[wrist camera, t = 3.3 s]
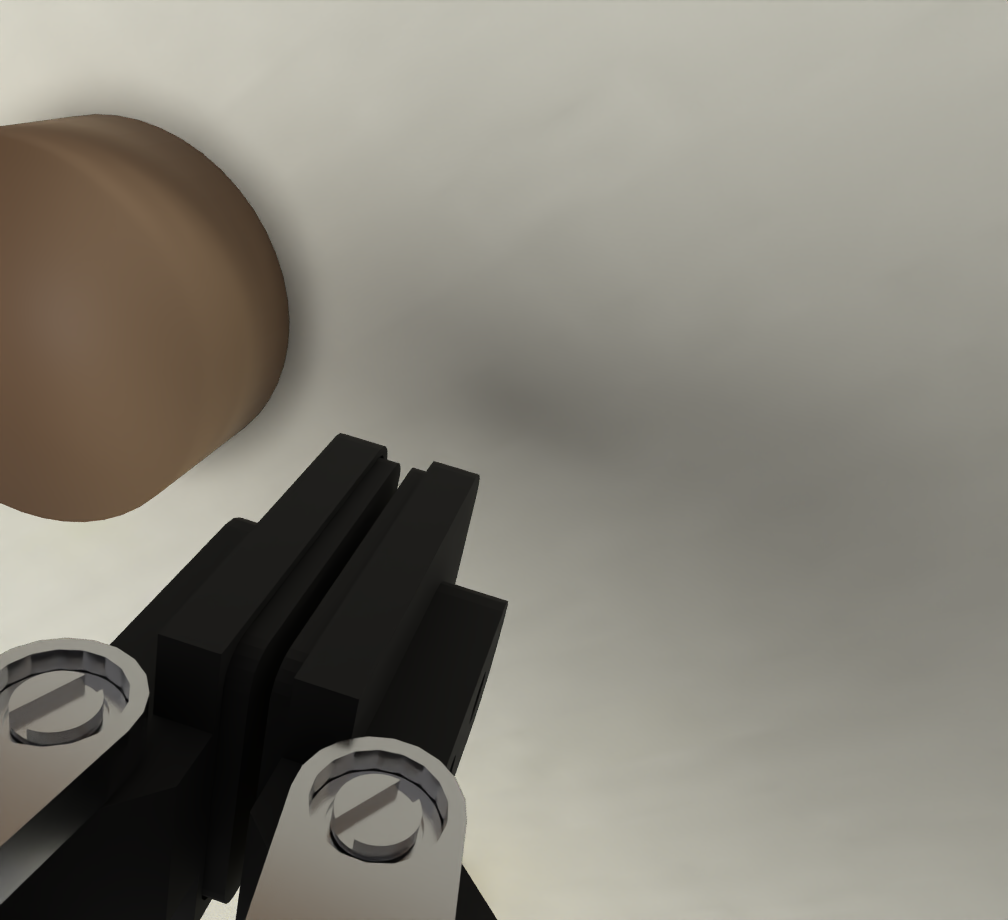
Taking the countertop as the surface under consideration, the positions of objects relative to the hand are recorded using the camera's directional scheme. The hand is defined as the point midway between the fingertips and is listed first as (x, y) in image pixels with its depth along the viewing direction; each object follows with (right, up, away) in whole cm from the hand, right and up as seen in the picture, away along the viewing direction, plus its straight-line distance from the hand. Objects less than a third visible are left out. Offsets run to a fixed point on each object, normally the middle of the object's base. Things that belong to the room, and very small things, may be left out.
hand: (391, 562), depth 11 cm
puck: (-5, +4, +6) cm, 9 cm away
